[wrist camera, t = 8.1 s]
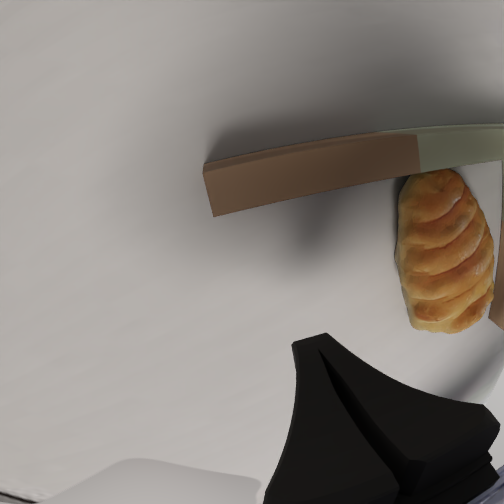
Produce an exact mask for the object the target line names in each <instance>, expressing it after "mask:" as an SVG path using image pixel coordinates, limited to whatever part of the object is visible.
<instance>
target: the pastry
mask: <svg viewBox="0 0 504 504" xmlns="http://www.w3.org/2000/svg"><path fill="white" fill-rule="evenodd" d="M398 213H399V220H398V224H399V227H398V233H397V234H398V240H397V244H396V248H395V261H396V263H397V266H398V271H399V277H400V282H401V285H402V292H403V297H404V300H405V304H406V306H407V308H408V315H409V319H410V323H411V326H412V327H413V328H415V329H417V330H428V331H430V332H432V333H436V332H445V333H448V334H453V333H458V332H461V331H463V330H465V329H467V328H469V327H470V326H471V325H473V324H474V323H476V322H477V321H478V320H480V319H481V317H482V316H483V314H484V313H485V310H486V307H487V306H488V304H489V303H490V302H491V301H492V300H493V298H494V294H493V289H494V282H493V267H494V255H493V250H494V244H493V239H492V236H491V234H490V229H489V227H488V225H487V222H486V219H485V216H484V213H483V211H482V210H481V209H480V207H479V204H478V202H477V200H476V199H475V198H474V197H473V195H472V194H471V192H470V190H469V187H468V186H467V185H466V184H465V182H464V181H463V179H462V177H461V176H460V175H459V174H458V173H456V172H455V171H453V170H451V169H448V168H446V169H440V170H434V171H428V172H423V173H417V174H411V176H410V177H409V178H408V180H407V181H406V183H405V184H404V186H403V188H402V190H401V191H400V194H399V201H398Z"/></svg>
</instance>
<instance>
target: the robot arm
mask: <svg viewBox="0 0 504 504" xmlns="http://www.w3.org/2000/svg"><path fill="white" fill-rule="evenodd" d="M292 351H293V356H294V362H295V368H296V393H295V403H294V409H293V415H292V420H291V424H290V428H289V432H288V436H287V440H286V443H285V446H284V449H283V452H282V455H281V457H280V460H279V463H278V465H277V468H276V470H275V472H274V474H273V476H272V479H271V481H270V483H269V485H268V487H267V489H266V491H265V496H264V501H263V504H504V465H503V466H502V467H500V468H499V469H498V470H495V469H494V468H493V466H492V465H491V463H490V462H491V461H492V456H491V455H490V454H489V452H488V450H489V448H490V447H491V445H492V444H493V442H494V440H495V439H496V437H497V435H498V433H499V430H500V423H499V422H498V421H497V419H496V418H495V417H494V416H493V414H492V413H491V412H490V411H489V410H488V409H487V408H486V407H485V406H484V405H482V404H475V403H468V402H461V401H455V400H451V399H447V398H443V397H439V396H435V395H432V394H429V393H426V392H423V391H420V390H417V389H415V388H412V387H410V386H407V385H405V384H403V383H401V382H399V381H397V380H394V379H393V378H391V377H389V376H387V375H385V374H383V373H382V372H380V371H378V370H377V369H375V368H373V367H372V366H370V365H369V364H367V363H366V362H364V361H363V360H361V359H360V358H358V357H357V356H356V355H354V354H353V353H351V352H350V351H349V350H348V349H346V348H345V347H344V346H342V345H341V344H340V343H339V342H337V341H336V340H335V339H334V338H333V337H332V336H330V335H329V334H328V333H323V334H319V335H316V336H313V337H309V338H305V339H302V340H298V341H295V342H293V344H292Z"/></svg>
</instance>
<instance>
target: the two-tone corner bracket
mask: <svg viewBox="0 0 504 504" xmlns="http://www.w3.org/2000/svg"><path fill="white" fill-rule="evenodd" d="M497 160H502V168H503V203H502V225H501V238H500V249H499V258H498V266H497V273H496V280H495V286H494V292H493V294H494V298H493V300H492V303H491V308H490V313H489V319H490V320H492V321H493V322H494V323H495V324H496V325H498V326H499V327H500V328H501V329H503V330H504V123H490V124H462V125H444V126H430V127H418V128H407V129H398V130H388V131H380V132H372V133H364V134H356V135H349V136H342V137H336V138H329V139H323V140H317V141H311V142H305V143H300V144H294V145H289V146H283V147H278V148H273V149H268V150H263V151H259V152H254V153H249V154H245V155H240V156H236V157H231V158H227V159H223V160H218V161H214V162H210V163H206V164H204V167H203V177H204V181H205V185H206V189H207V193H208V197H209V201H210V205H211V209H212V213H213V217H216V216H220V215H225V214H229V213H233V212H237V211H241V210H245V209H249V208H254V207H258V206H262V205H266V204H271V203H275V202H279V201H284V200H288V199H293V198H297V197H302V196H306V195H311V194H316V193H320V192H325V191H330V190H334V189H339V188H344V187H349V186H354V185H359V184H364V183H369V182H374V181H379V180H384V179H390V178H395V177H400V176H406V175H411V174H417V173H423V172H428V171H434V170H440V169H446V168H452V167H458V166H464V165H471V164H477V163H484V162H490V161H497Z"/></svg>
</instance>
